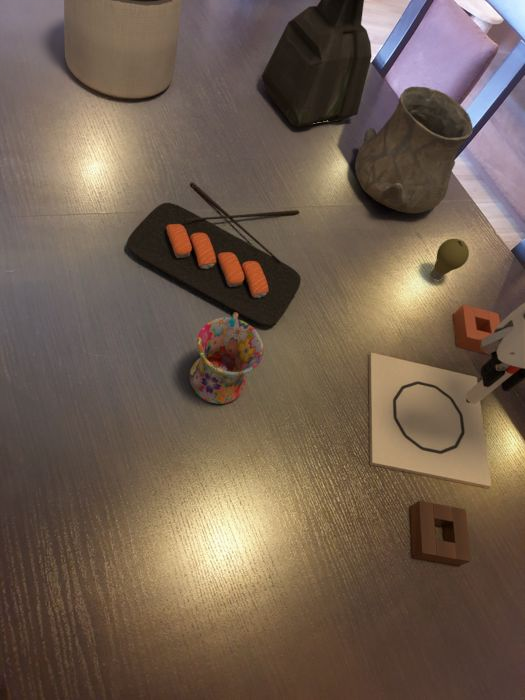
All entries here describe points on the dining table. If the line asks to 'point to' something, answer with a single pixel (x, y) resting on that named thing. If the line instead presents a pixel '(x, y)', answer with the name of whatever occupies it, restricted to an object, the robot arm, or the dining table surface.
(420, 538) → the marker stand
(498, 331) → the robot arm
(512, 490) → the dining table surface
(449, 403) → the board
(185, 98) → the dining table surface
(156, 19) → the planter
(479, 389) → the marker
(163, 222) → the sushi plate
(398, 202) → the vessel
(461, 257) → the light bulb
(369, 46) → the bottle
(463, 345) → the pen holder
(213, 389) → the mug
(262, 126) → the dining table surface
